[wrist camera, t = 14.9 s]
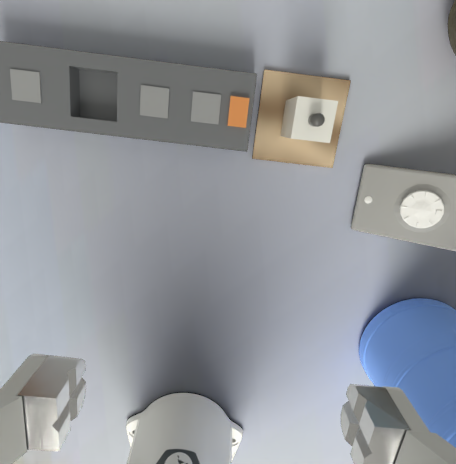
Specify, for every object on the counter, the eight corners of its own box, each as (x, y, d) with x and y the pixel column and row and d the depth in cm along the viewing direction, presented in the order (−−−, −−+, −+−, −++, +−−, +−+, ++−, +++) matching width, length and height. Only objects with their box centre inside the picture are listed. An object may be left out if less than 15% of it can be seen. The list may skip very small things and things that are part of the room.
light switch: (363, 164, 40) (512, 183, 34) (368, 161, 45) (500, 177, 39) (349, 231, 43) (485, 260, 37) (355, 221, 48) (477, 246, 42)
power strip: (245, 148, 41) (247, 152, 37) (14, 121, 40) (-12, 121, 36) (254, 78, 39) (257, 72, 34) (8, 47, 38) (-21, 37, 33)
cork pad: (331, 167, 42) (332, 167, 42) (252, 158, 42) (252, 158, 41) (349, 81, 39) (350, 80, 39) (264, 70, 39) (264, 69, 38)
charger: (313, 139, 41) (334, 144, 32) (280, 136, 40) (293, 139, 32) (319, 104, 39) (343, 99, 31) (285, 100, 39) (301, 94, 31)
